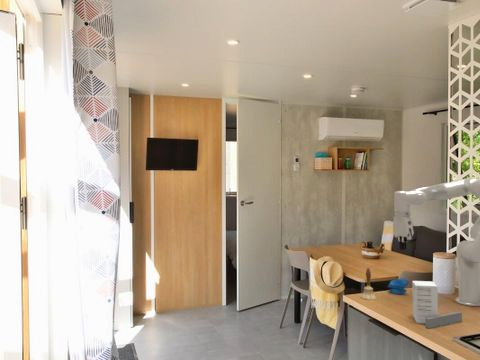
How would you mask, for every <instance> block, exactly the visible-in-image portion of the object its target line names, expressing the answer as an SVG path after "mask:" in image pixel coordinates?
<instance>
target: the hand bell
mask: <svg viewBox="0 0 480 360" xmlns="http://www.w3.org/2000/svg"><path fill="white" fill-rule="evenodd" d="M371 273H372V271H371V270H370V268H369V267H368V268H366V271H365V277H366V286H364V288H363V293H362V294H361V295H360V298H361V299H363V300H367V301H374V300H377V296H376V295H375V293H374V288H373V287H371V278H372V274H371Z"/></svg>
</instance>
